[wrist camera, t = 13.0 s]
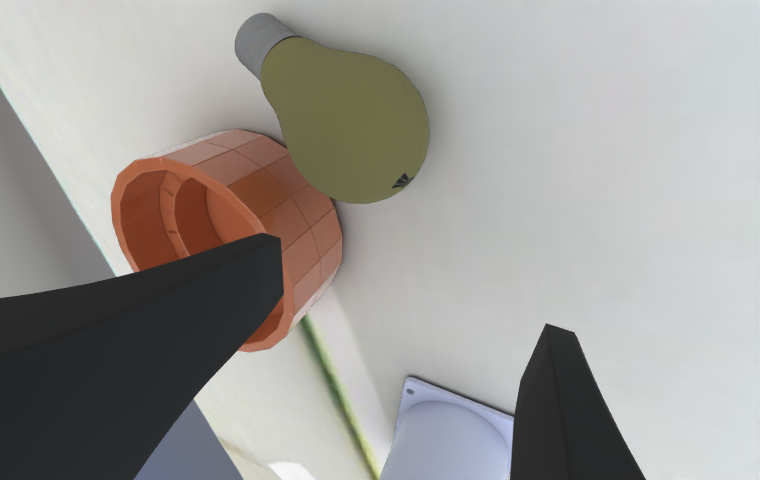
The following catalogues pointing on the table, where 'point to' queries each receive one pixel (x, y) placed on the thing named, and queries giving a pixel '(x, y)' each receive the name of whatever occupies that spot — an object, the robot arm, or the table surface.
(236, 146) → the bowl
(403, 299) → the table surface
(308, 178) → the light bulb
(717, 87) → the table surface
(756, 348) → the table surface
